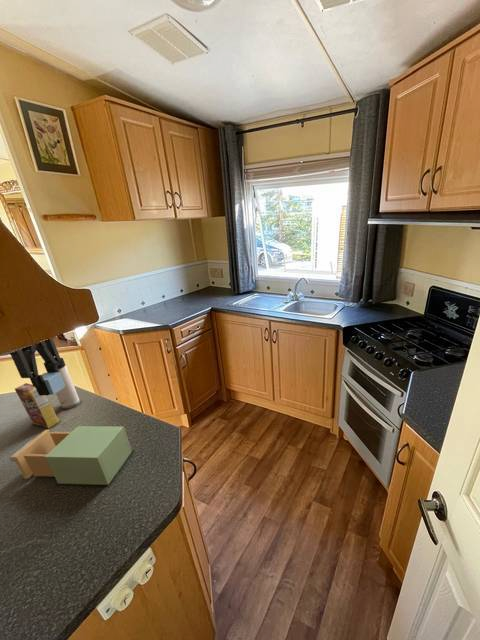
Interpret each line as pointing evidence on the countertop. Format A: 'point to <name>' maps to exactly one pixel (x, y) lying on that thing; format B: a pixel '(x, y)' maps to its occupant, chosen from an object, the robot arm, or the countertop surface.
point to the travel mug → (66, 388)
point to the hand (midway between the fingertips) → (51, 389)
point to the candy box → (37, 406)
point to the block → (53, 382)
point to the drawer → (37, 454)
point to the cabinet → (89, 455)
